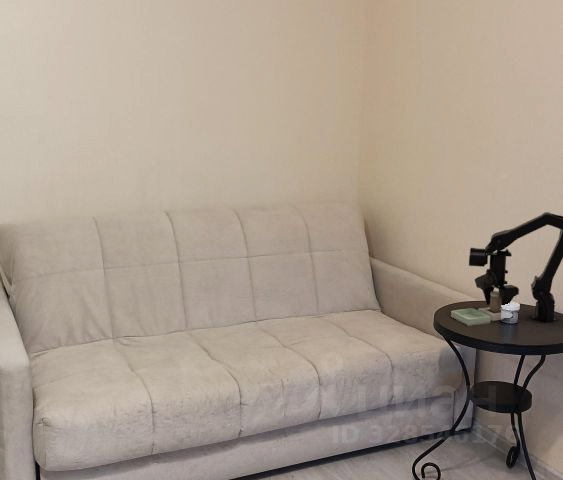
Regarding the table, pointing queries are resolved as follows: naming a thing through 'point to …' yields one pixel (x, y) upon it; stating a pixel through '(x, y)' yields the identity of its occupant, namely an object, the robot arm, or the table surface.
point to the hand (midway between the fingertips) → (495, 307)
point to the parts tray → (470, 317)
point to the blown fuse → (495, 302)
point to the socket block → (490, 313)
